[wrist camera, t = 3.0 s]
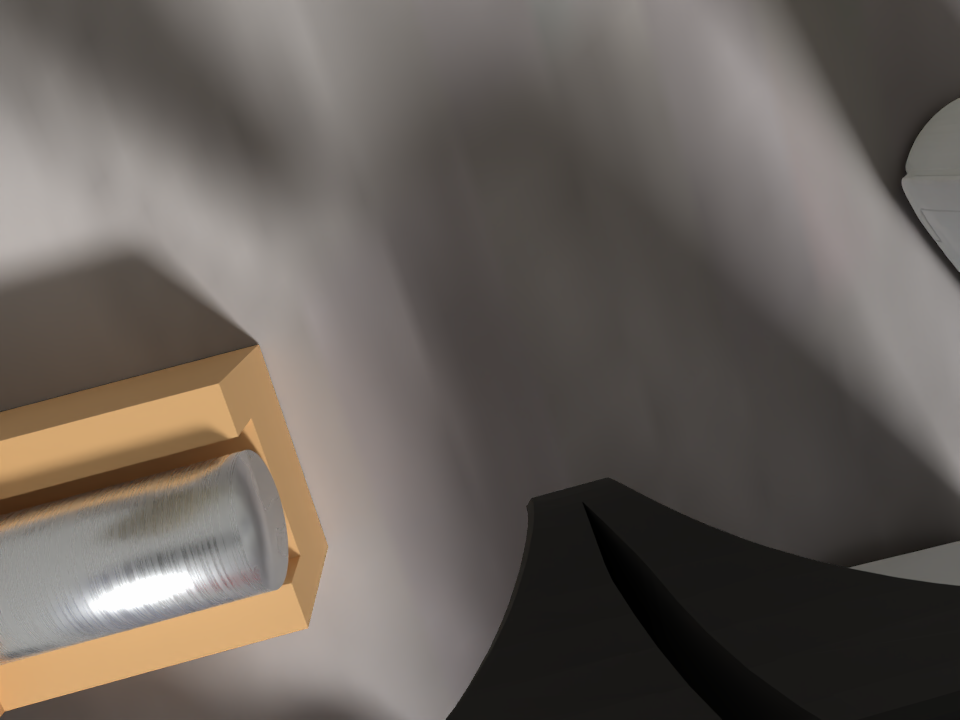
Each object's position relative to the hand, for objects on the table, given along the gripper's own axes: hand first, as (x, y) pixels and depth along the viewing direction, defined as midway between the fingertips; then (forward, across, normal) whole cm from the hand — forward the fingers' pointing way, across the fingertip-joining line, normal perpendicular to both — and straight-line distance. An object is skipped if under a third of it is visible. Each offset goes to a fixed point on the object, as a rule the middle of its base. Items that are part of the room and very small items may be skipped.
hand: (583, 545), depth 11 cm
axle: (+6, +11, 0) cm, 12 cm away
